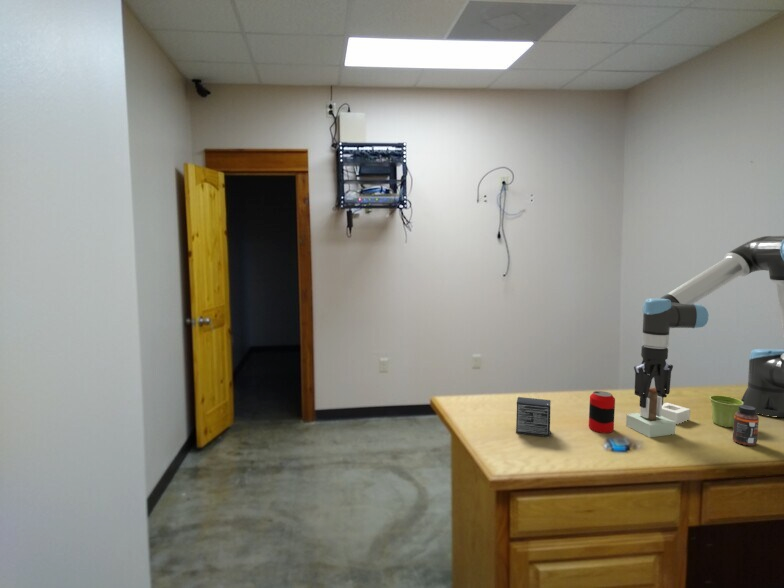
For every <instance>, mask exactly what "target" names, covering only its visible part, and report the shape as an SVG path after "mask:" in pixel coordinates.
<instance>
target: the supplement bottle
mask: <svg viewBox="0 0 784 588" xmlns="http://www.w3.org/2000/svg"><path fill="white" fill-rule="evenodd" d="M759 420H760V418H759V415H758V414H755V408H754V407H751V406H746V405H740V406H739V411H738V412H736V413H735V415H734V427H732V428H733V429H732V430H733V431H732V441H733V442H735V443H736V442H737V444H738V443H739V445H741V444H743V445H742V446H746V445H748V447H754V446H756V445H757V443H758V433H759V432H758V431H759Z"/></svg>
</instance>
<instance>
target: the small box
mask: <svg viewBox="0 0 784 588" xmlns="http://www.w3.org/2000/svg"><path fill="white" fill-rule="evenodd" d="M551 401H552V400H551V399H542V398H531V397H522V396H521V397H520V396H518V397H517V399H516V419H515V420H516V426H515V433H516V434H521V435H522V434H523V435H530V436H538V437H546V438H550V436H551V433H550V432H551V404H552V403H551Z"/></svg>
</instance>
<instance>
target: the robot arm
mask: <svg viewBox="0 0 784 588" xmlns="http://www.w3.org/2000/svg"><path fill="white" fill-rule="evenodd" d="M759 271H768V275H769V279H770V281H772V282H774V283H775V284H776V290H777V298H778V303H779V304H778V305H779V306H778V307H779V312H780V318H781V320H780V321H781V325H782V326H781V327H782V333H783V334H782V335H783V336H784V235H768V236H767V235H766V236H761V237H756V238H754V239H751V240H749V241H747V242H745V243H742V244H741V245H739V246H738V247H735V248H733V249H732V250H731V251H729V252H727V253H726V254H724V257H723V259H722V260H720V261H718V262H717V263H715V264H714V265H712V266H710V267H709V268H707V269H705V270H703V271H702V272H700V273H699V274H697V275H695V276H694V277H692V278H690V279H689V280H687V281H685V282H684V283H683V284H681V285H679V286H678V287H676V288H675V289H673V290H671V291H669V292H668V293H666V294H665V295H662V296H661V297H657V298H655V297H654V298H653V297H651V298H646V300H645V301H644V303H643V305H642V313H643V317H642V318H643V319H642V337H641V338H642V339H641V344H642V346H641V351H640V352H641V353H640V355H641V358H642V361H641V364H640V365H634V367H633V369H634V376H635V377H634V395H635V396H637V397H639V407H640V410H639V411H640V412H639V413H640V416H643V417H645V418H649V402H650V399H649V398H647V397H648V394H649V389H650V387H651V385H652V381H653V379H654V388H656V391H657V392H658V393H657V409H656V416H659V417H661V412H662V406H663V403H664V398H667V396H668V395H669V394H670V391H671V381H672V379H671V378H672V371H673V368H674V365H673V364H670V363H667V361H666V360H668V359H669V358H668V357H669V356H668V355H669V349H668V347H669V345H670V342H669V340H670V330H671V329H690V328H691V329H695V328H703V327H705V326H706V325H707V323H708V321H709V311H708V310H707V309H708V308H706V306H705V305H702V304H695V303H697V302H699V301H700V300H702V299H704V298H705V297H707V296H709V295H711V294H712V293H714V292H716V291H717V290H719V289H720V288H723V286H725V285H727V284H729V283H730V282H732V281H734V280H735V279H737V278H739V277H746V276H748V275H750V274H751V273H754V272H759ZM748 365H749V366H748V377H747V378H748V379H747V388H746V390H745V392H744V394H743V396H742V397H741V399H740V400H741V401H743V403H744V404H743V405H746V406H751V407H754V408H755V413H759V414H763V415H769V416H777V417H784V349H782V348H781V349H780V348H755V349H752V350H751V352H750V356H749V361H748Z"/></svg>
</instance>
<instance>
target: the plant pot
mask: <svg viewBox="0 0 784 588" xmlns="http://www.w3.org/2000/svg"><path fill="white" fill-rule="evenodd" d="M709 400H710V403H711V407H712V408H711V409H712V410H711V411H712V423H713V424H715V425H717V424H718V425H717V426H719V425H721V426H720V427H722V426H726V427H725V428H733V427H734V415H735V413H736V412H738V411H739V406H740V405H743V404H744V403H743V401H741V399H739V398H736V397H731V396H727V395H719V394H717V395H716V394H715V395H710V396H709Z"/></svg>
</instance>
